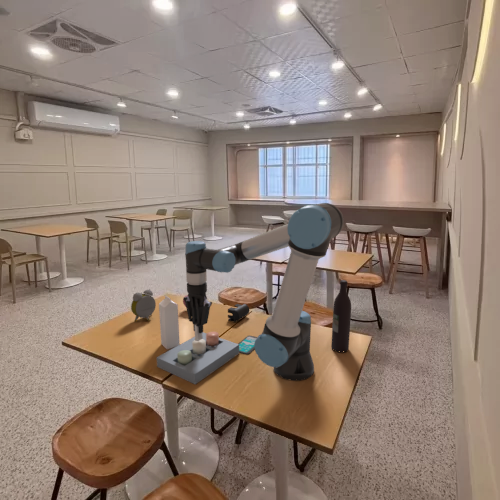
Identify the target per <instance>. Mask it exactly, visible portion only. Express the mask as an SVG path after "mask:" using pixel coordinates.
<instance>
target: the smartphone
mask: <svg viewBox="0 0 500 500" xmlns="http://www.w3.org/2000/svg"><path fill="white" fill-rule="evenodd" d="M257 337H258V336H255V335H247V336H246V337H244V338H243V339H242V340H240V341H239V342H238V343H237V344H239V354H243V355H245V356H246V355H247V356H248V355H250V354H251V353H253V352H255V347H254V344H255V340H256V339H257Z"/></svg>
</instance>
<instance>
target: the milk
mask: <svg viewBox="0 0 500 500" xmlns="http://www.w3.org/2000/svg"><path fill="white" fill-rule="evenodd" d="M158 309H159V310H158V311H159V325H160V326H159V327H160V345H162V346H163V347H164V348H165V349H166V350H171V349H173V348H175V347H176V346H178V345H180V343H181V342H180V323H179V306H178V304H177V302H174V301H173V300H172V299H171V298H170V297H169V296H167V295H164V299H162V300H161V301H160V302H159V303H158Z"/></svg>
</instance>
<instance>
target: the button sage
mask: <svg viewBox="0 0 500 500" xmlns="http://www.w3.org/2000/svg"><path fill="white" fill-rule="evenodd" d="M177 356H178V363H179V364H181V365H184V366H185V365H187V364H188V363H190V362H192V353H191V351H189V350H183V351H180V352H178V354H177Z"/></svg>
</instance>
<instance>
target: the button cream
mask: <svg viewBox="0 0 500 500" xmlns="http://www.w3.org/2000/svg"><path fill="white" fill-rule="evenodd" d="M192 346H193V353H194V354H196V355H201V354H204V353H205V352H206V341H205V340H204V339H201V340H199V341H195V340H194V341H193V342H192Z"/></svg>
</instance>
